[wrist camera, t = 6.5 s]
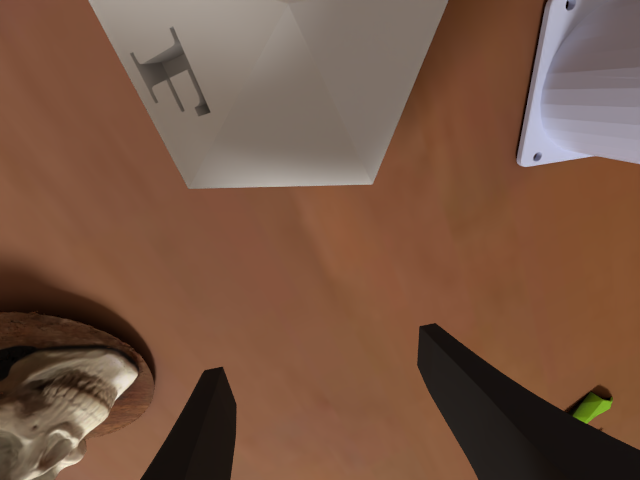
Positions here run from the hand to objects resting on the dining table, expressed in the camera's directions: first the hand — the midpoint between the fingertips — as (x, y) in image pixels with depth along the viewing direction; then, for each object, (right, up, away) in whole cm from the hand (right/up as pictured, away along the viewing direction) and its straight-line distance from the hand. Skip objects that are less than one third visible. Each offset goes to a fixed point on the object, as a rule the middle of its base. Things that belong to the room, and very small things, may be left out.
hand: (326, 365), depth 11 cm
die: (-2, +13, +3) cm, 13 cm away
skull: (-18, 0, +8) cm, 20 cm away
